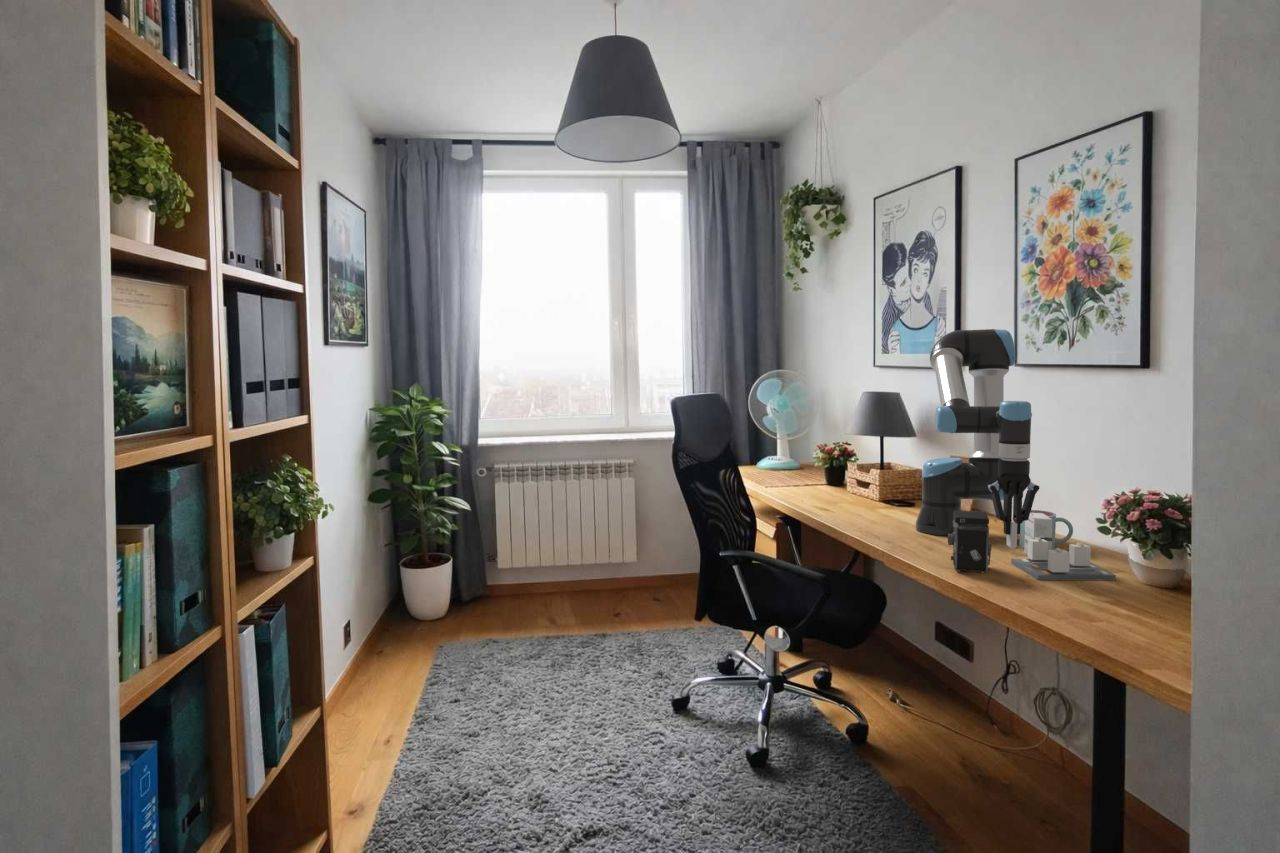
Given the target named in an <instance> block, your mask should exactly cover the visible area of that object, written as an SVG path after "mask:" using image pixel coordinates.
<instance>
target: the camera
mask: <svg viewBox="0 0 1280 853" xmlns="http://www.w3.org/2000/svg"><path fill="white" fill-rule="evenodd" d="M953 516H954V520H953V527H954V532H953V533H952V534H948V535H947V545H948V546H952V547H953V548H952V555H950V561H952V564H953V568H954V570H956V571H957V572H958V571H959V572H960V571H969V572H971V571H972V572H981V574H984V573H987V572H988V570H989V569H988V568H989V566H990V565H991V564H990V563H991V555H992V554H991V552H992V544H991V543H990V527H989V524H990V519H989V517H988V515H987V512H986V511H978V510H977V511H976V510H975V511H974V510H962V511H954V512H953Z"/></svg>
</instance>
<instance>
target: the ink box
mask: <svg viewBox="0 0 1280 853" xmlns="http://www.w3.org/2000/svg"><path fill="white" fill-rule="evenodd" d="M1035 537H1038V538H1040V539H1044V540H1046V541H1048V550H1052V519H1051V518H1049V517H1048V516H1046V515H1045V514H1043V513H1030V515H1029V519H1028V520H1027V521H1025V548H1023V549H1024V551H1023V552H1024V554H1026V555H1027V556H1028V539H1035Z"/></svg>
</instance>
